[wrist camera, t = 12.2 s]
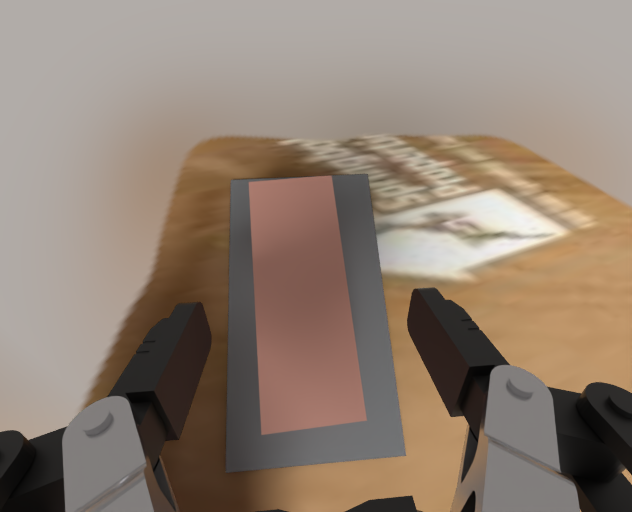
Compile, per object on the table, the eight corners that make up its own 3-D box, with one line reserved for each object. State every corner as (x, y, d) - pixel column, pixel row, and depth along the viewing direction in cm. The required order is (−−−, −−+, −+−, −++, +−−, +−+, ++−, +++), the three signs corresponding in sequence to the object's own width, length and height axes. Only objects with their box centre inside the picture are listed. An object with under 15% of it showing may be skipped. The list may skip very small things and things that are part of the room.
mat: (366, 176, 20) (367, 173, 20) (404, 453, 16) (405, 455, 15) (231, 182, 20) (230, 179, 20) (227, 470, 15) (225, 472, 15)
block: (350, 396, 16) (326, 210, 19) (367, 420, 12) (331, 175, 15) (274, 406, 16) (262, 216, 19) (261, 435, 11) (248, 182, 15)
